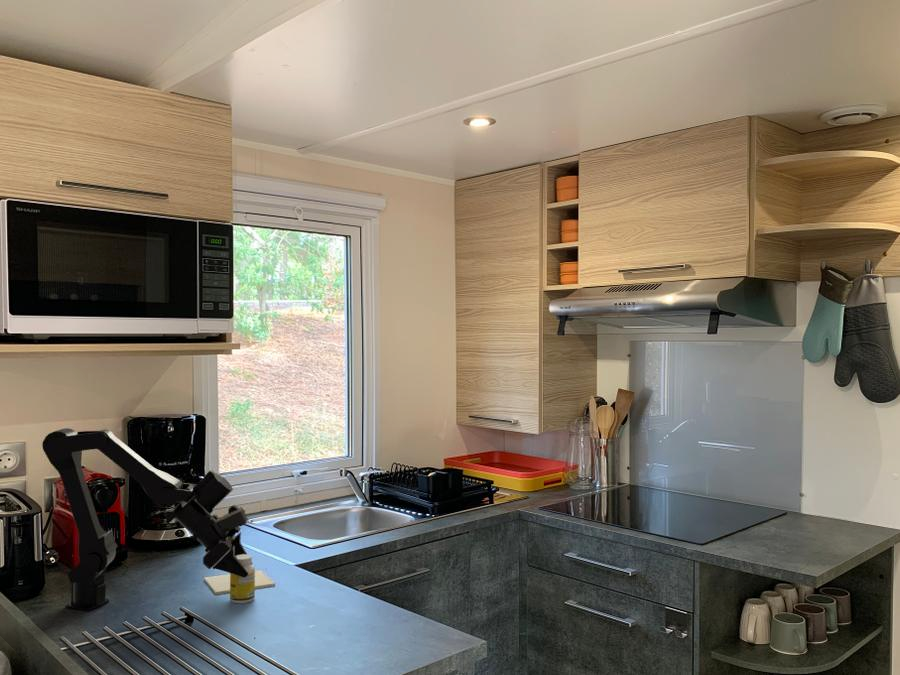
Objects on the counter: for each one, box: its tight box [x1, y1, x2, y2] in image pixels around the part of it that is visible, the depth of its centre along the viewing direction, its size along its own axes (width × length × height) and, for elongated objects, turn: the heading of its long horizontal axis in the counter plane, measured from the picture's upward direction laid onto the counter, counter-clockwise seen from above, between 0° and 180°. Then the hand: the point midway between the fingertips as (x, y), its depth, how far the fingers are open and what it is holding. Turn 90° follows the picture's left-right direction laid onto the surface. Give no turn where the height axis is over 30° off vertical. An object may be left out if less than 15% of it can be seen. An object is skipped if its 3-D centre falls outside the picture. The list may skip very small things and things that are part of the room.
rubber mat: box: [203, 569, 276, 595], centre depth 184 cm, size 14×12×1 cm
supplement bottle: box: [229, 553, 256, 604], centre depth 172 cm, size 5×5×10 cm
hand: (248, 570), depth 173 cm, fingers open, 8 cm apart
